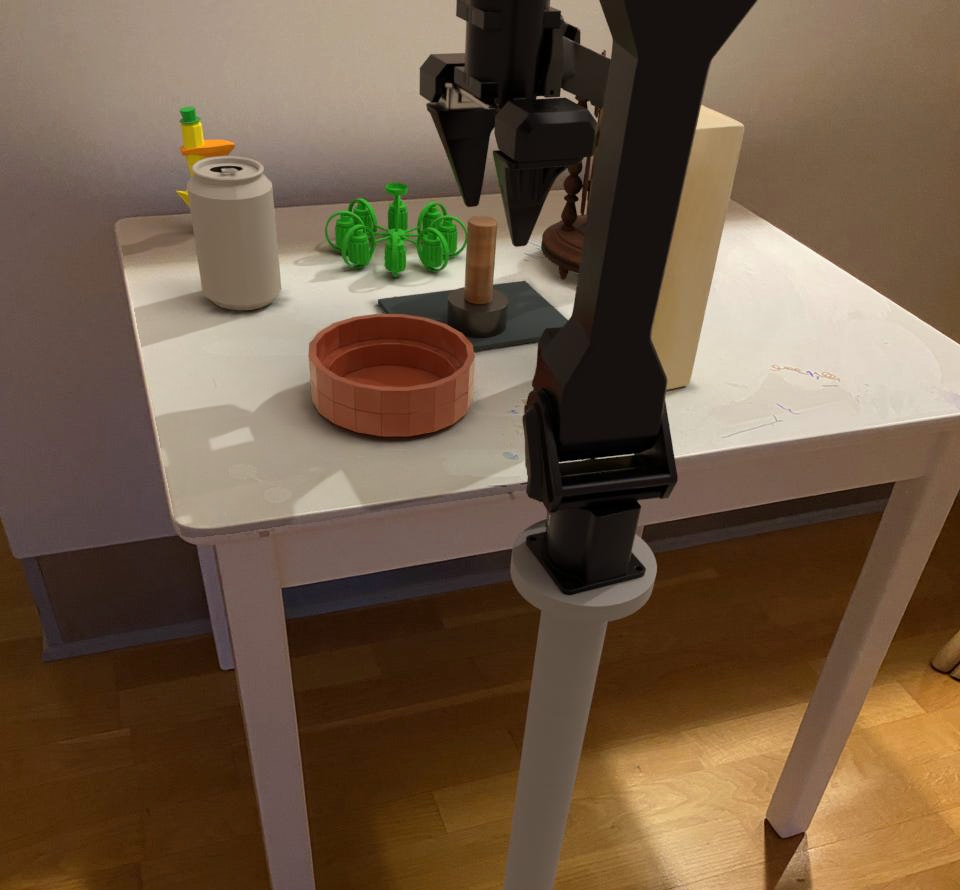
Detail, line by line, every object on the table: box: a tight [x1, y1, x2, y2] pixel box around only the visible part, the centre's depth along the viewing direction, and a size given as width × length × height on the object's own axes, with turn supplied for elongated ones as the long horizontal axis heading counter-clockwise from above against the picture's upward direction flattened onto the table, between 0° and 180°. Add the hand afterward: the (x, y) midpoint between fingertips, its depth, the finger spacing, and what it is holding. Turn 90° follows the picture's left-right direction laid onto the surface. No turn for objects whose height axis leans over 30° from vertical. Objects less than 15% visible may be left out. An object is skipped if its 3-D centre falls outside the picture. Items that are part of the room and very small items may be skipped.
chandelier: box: [324, 182, 467, 278], centre depth 98 cm, size 15×15×7 cm
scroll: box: [540, 49, 607, 280], centre depth 95 cm, size 15×15×20 cm
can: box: [186, 155, 283, 311], centre depth 87 cm, size 8×8×12 cm
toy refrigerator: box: [651, 104, 746, 391], centre depth 77 cm, size 8×7×21 cm
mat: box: [377, 280, 569, 352], centre depth 90 cm, size 12×16×1 cm
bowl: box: [308, 313, 476, 437], centre depth 77 cm, size 13×13×4 cm
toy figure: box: [175, 106, 236, 209], centre depth 99 cm, size 7×4×12 cm, turn 116°
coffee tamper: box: [447, 215, 508, 338], centre depth 85 cm, size 6×6×10 cm
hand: (494, 225), depth 74 cm, fingers open, 9 cm apart
